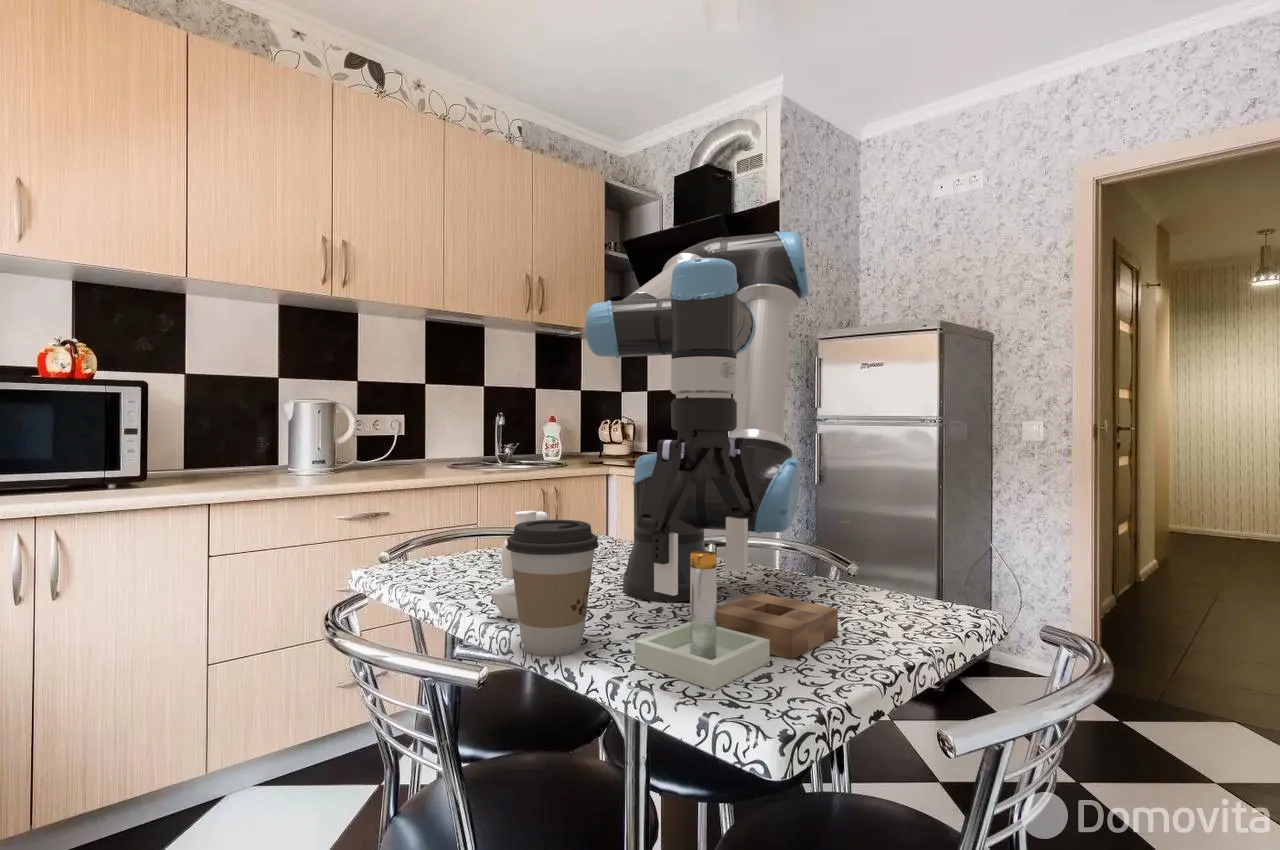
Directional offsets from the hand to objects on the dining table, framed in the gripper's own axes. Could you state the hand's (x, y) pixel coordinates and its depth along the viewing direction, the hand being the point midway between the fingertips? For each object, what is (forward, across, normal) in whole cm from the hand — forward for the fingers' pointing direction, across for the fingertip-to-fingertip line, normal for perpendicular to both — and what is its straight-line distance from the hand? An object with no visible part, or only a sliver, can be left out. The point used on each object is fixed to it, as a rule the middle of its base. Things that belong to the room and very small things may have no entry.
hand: (703, 581), depth 76 cm
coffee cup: (+9, -8, +17) cm, 21 cm away
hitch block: (+9, +14, -1) cm, 17 cm away
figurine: (+10, -2, +30) cm, 31 cm away
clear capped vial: (+9, 0, 0) cm, 9 cm away
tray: (+9, 0, 0) cm, 9 cm away
